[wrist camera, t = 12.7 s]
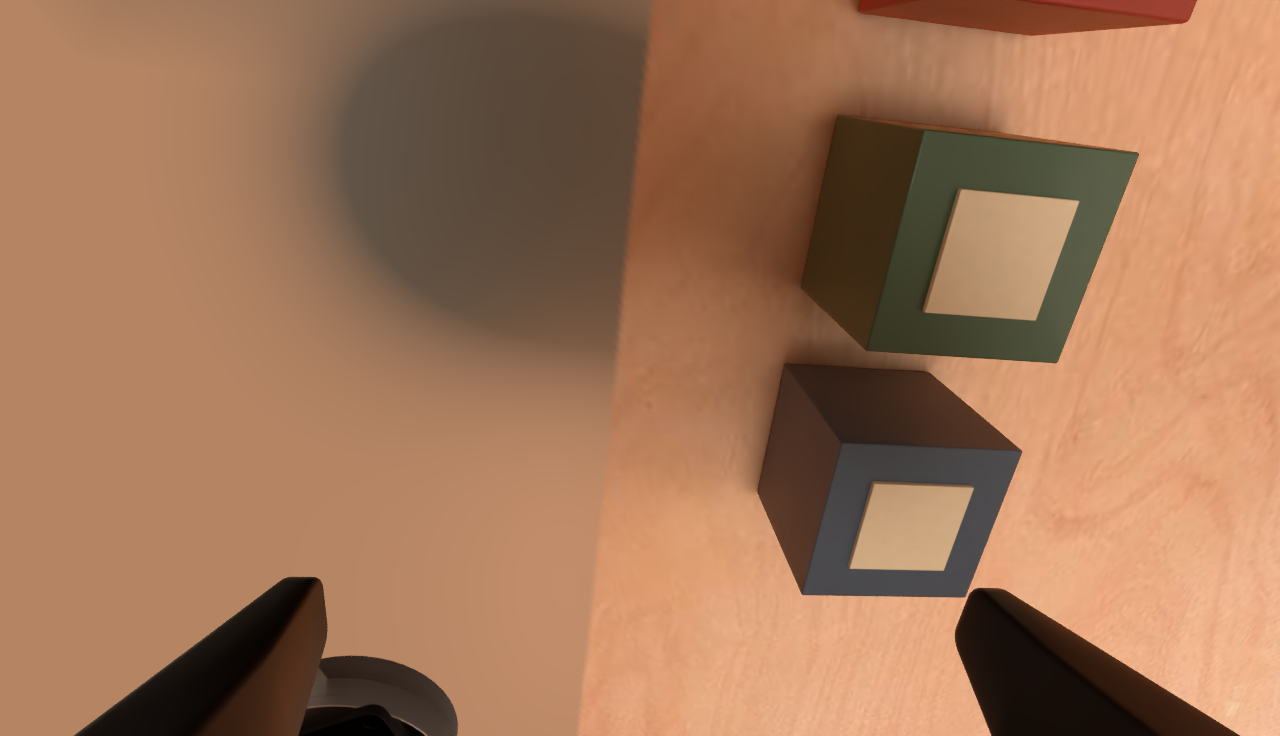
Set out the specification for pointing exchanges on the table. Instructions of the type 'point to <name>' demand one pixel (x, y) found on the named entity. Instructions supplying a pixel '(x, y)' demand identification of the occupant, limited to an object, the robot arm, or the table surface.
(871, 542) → the slate block
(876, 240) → the green block
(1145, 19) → the red cube
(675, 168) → the table surface
